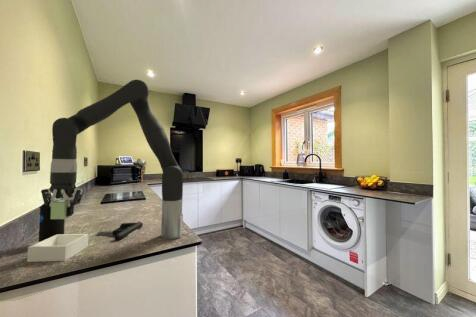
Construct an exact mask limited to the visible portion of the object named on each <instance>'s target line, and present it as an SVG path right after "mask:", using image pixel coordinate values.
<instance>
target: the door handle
mask: <svg viewBox="0 0 476 317" xmlns="http://www.w3.org/2000/svg"><path fill="white" fill-rule="evenodd" d="M143 226H144V223H143V222H142V221H138V222H123V223H121V224H120V225H119V227H117V228H115V229H114V230H99V231H98V232H97V234H96V235H97V236H113V237H114V240H115V241H120V240H122V239H124V238H125V237H126V238H127V237H129V236H130V235H132V234H134V233H135V232H137V231H138V230H139V229H140V228H142V227H143Z"/></svg>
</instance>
